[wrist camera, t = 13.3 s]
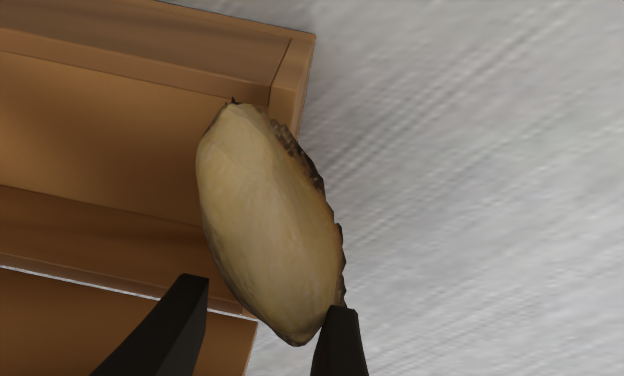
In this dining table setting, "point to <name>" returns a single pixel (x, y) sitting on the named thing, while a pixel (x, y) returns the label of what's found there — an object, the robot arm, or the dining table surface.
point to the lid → (95, 329)
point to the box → (126, 133)
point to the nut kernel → (269, 222)
